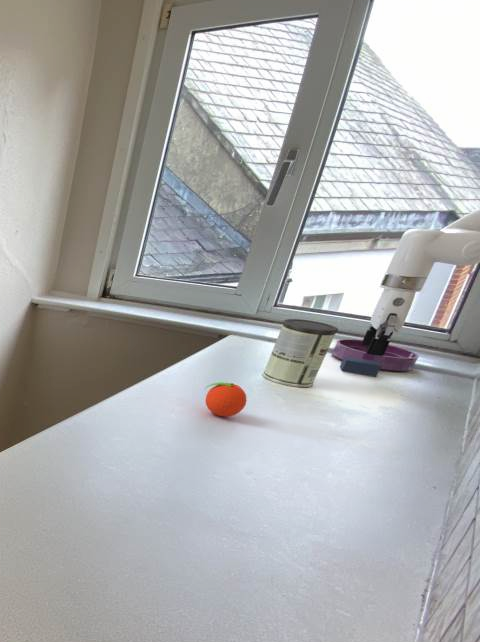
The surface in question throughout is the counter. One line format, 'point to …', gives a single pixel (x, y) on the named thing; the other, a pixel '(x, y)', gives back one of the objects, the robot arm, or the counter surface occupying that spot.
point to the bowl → (389, 361)
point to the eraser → (360, 366)
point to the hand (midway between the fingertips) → (371, 350)
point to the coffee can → (299, 352)
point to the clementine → (225, 399)
